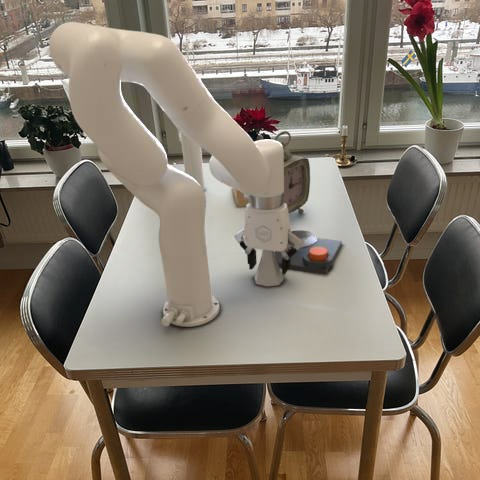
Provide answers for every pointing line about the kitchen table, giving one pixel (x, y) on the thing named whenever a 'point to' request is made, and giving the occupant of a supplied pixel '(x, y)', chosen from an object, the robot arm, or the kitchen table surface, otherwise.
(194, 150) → the paper towel roll
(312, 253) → the scale button
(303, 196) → the tabletop clock
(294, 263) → the scale
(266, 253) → the flask
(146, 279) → the kitchen table surface
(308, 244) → the weighing pan
